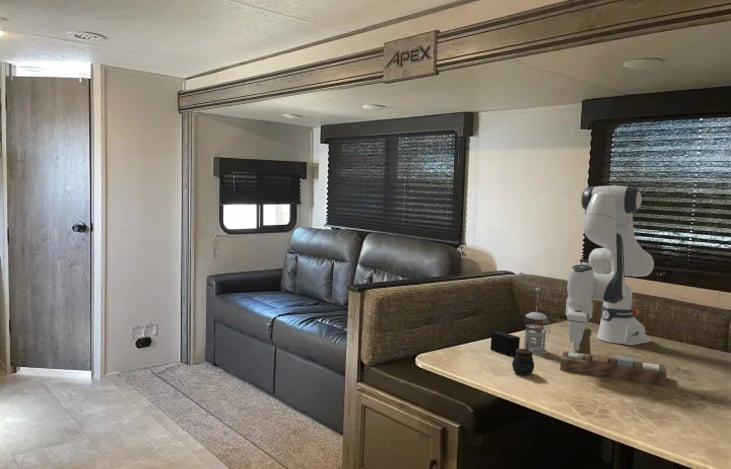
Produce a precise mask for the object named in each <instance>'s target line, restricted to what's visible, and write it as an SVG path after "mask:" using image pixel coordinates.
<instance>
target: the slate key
mask: <svg viewBox="0 0 731 469" xmlns="http://www.w3.org/2000/svg"><path fill="white" fill-rule="evenodd" d="M616 358H617V365H621V366H628V367H633V361H634V358H633V357H626V356H621V355H618V356H617V357H616Z"/></svg>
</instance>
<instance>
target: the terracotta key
mask: <svg viewBox="0 0 731 469" xmlns="http://www.w3.org/2000/svg"><path fill="white" fill-rule="evenodd" d="M592 355H593V357H592V361H594V362H601V363H608V357H609V356H603V357H601V355H596V356H594V355H595V354H592Z"/></svg>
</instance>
